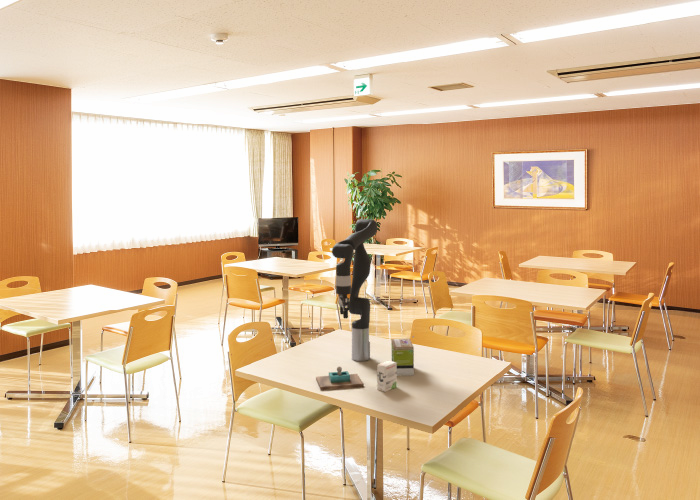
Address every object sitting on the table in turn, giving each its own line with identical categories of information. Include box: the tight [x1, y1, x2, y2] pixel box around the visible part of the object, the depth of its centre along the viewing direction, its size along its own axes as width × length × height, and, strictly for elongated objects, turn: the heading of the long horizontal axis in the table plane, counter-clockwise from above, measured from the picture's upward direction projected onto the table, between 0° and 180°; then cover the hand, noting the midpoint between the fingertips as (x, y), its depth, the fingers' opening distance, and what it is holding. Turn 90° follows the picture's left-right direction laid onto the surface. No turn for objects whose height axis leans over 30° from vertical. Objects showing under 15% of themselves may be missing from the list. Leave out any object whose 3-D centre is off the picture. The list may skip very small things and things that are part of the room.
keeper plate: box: [315, 366, 365, 391], centre depth 254 cm, size 20×14×8 cm
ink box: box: [376, 360, 398, 392], centre depth 248 cm, size 9×5×12 cm, turn 137°
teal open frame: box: [328, 370, 350, 383], centre depth 255 cm, size 9×6×3 cm, turn 101°
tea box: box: [390, 338, 415, 377], centre depth 272 cm, size 15×10×15 cm
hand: (344, 316), depth 271 cm, fingers open, 8 cm apart
